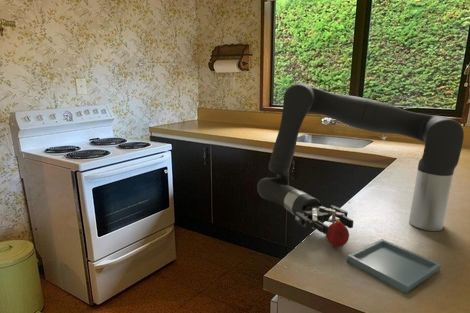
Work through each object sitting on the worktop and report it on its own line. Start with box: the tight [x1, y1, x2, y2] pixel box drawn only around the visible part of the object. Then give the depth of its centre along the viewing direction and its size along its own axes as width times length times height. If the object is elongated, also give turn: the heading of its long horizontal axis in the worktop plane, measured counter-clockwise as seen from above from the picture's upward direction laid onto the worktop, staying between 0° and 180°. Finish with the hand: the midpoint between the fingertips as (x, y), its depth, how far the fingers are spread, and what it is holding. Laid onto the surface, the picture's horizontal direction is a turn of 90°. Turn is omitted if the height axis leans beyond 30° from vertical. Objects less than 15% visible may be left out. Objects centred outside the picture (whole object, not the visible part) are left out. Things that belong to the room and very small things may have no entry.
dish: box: [346, 239, 442, 295], centre depth 82 cm, size 15×15×2 cm
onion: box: [325, 218, 350, 249], centre depth 89 cm, size 6×6×8 cm
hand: (339, 227), depth 88 cm, fingers open, 8 cm apart
